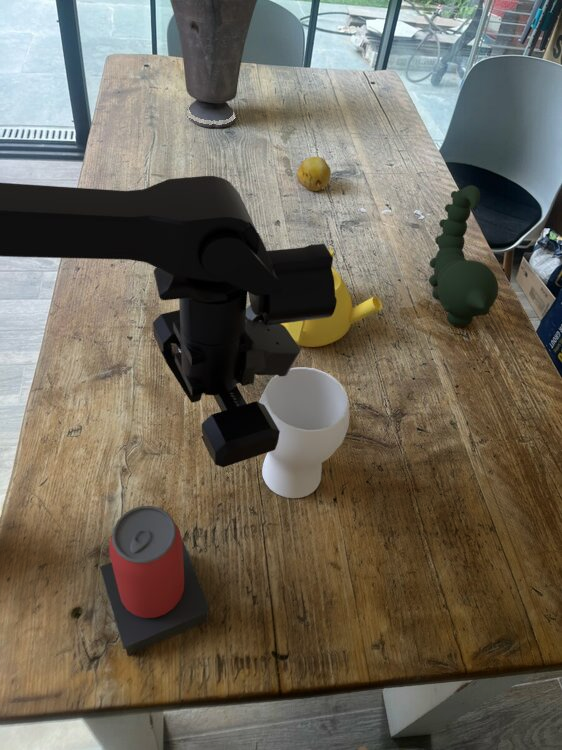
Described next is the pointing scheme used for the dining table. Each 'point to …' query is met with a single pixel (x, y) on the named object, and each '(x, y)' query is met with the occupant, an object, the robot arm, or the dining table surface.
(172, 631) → the block
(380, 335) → the dining table surface
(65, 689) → the dining table surface
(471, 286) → the toy figurine
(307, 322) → the teapot
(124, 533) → the beer can
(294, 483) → the cup
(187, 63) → the vase
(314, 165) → the fruit
